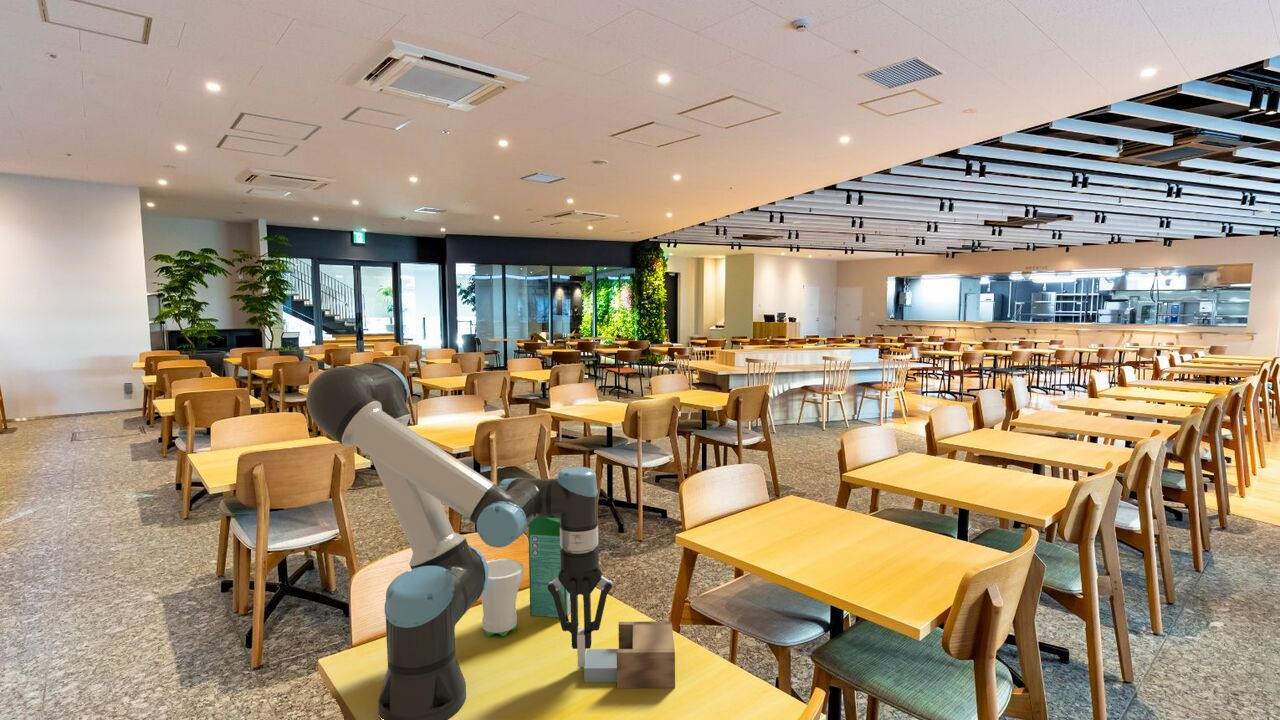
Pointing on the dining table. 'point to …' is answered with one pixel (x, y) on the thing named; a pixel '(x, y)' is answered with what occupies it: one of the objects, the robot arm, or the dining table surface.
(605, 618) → the dining table surface
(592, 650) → the slab
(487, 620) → the cup
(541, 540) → the milk carton
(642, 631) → the brown notched block
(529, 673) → the dining table surface
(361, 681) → the dining table surface
